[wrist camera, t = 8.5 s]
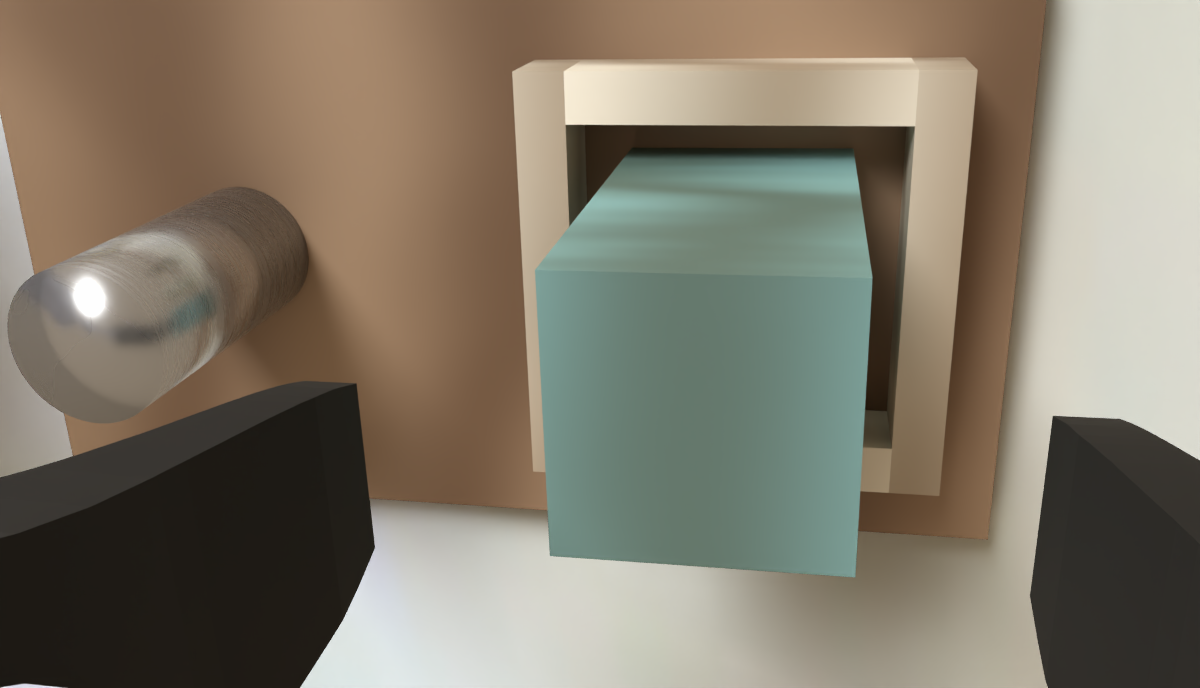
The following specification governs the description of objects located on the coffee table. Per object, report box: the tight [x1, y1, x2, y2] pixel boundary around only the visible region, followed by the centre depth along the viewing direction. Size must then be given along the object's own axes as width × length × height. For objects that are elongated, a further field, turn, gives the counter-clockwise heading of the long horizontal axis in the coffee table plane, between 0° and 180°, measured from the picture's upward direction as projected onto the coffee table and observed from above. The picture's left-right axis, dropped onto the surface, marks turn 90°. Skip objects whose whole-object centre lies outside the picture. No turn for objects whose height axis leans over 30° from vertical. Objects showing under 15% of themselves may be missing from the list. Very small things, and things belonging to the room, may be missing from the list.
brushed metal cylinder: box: [8, 187, 309, 423], centre depth 18 cm, size 2×2×5 cm
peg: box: [535, 148, 873, 577], centre depth 16 cm, size 4×4×7 cm
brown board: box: [0, 0, 1046, 539], centre depth 20 cm, size 18×10×2 cm, turn 92°
